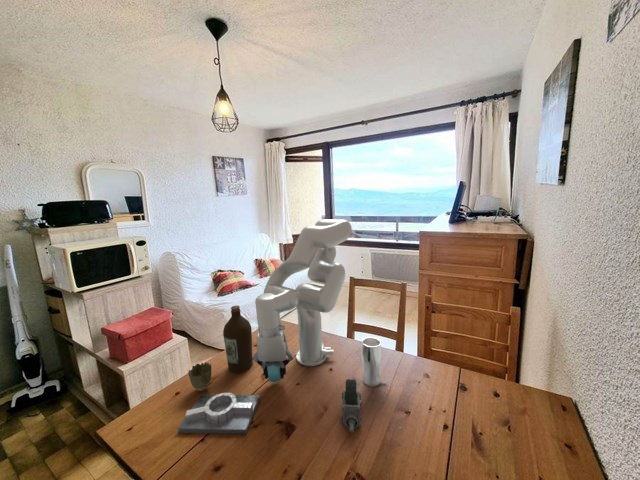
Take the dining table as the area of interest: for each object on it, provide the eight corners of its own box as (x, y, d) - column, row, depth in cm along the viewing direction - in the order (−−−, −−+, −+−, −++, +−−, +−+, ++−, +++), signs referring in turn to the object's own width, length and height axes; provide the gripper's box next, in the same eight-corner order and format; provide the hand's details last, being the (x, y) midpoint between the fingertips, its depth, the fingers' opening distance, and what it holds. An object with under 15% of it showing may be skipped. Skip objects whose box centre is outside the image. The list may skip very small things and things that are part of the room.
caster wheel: (342, 401, 85) (341, 438, 71) (342, 372, 85) (340, 404, 70) (360, 402, 85) (362, 440, 70) (359, 373, 84) (361, 405, 69)
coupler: (283, 372, 96) (281, 355, 94) (280, 382, 91) (278, 364, 89) (270, 372, 96) (268, 355, 95) (266, 382, 91) (264, 364, 90)
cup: (205, 398, 88) (202, 376, 87) (186, 395, 90) (183, 374, 88) (217, 383, 95) (215, 362, 94) (200, 380, 97) (197, 361, 96)
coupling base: (259, 399, 86) (258, 388, 86) (246, 434, 74) (245, 421, 73) (201, 398, 88) (200, 388, 87) (178, 432, 75) (176, 420, 74)
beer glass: (359, 384, 91) (359, 345, 89) (364, 372, 98) (363, 335, 95) (380, 389, 89) (379, 348, 86) (383, 376, 95) (383, 338, 93)
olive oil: (241, 355, 112) (236, 299, 108) (259, 362, 106) (255, 304, 103) (221, 369, 103) (214, 309, 99) (239, 378, 97) (233, 314, 94)
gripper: (296, 323, 93) (300, 368, 96) (249, 324, 94) (255, 369, 97) (292, 334, 85) (297, 383, 89) (242, 336, 87) (248, 384, 90)
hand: (275, 375), depth 93 cm, fingers closed on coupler, 5 cm apart
